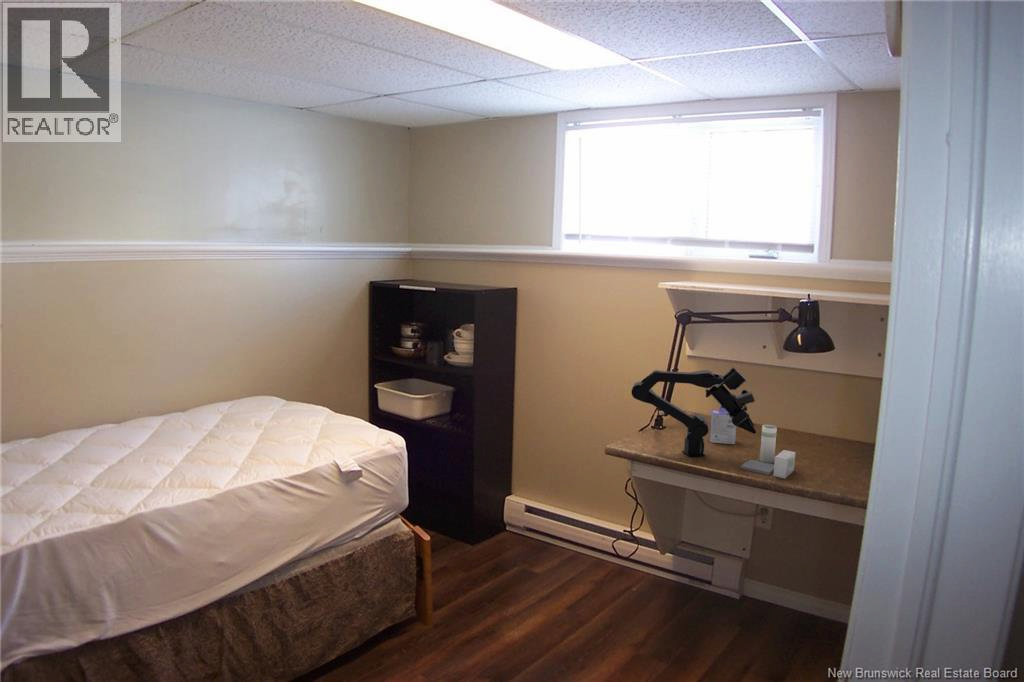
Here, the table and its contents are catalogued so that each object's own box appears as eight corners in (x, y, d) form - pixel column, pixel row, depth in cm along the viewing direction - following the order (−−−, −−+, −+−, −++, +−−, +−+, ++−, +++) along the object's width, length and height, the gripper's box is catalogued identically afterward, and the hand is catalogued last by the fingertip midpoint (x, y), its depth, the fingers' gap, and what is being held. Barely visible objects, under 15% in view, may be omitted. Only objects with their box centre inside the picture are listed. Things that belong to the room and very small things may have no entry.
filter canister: (765, 463, 260) (767, 429, 258) (756, 459, 265) (759, 425, 263) (777, 462, 261) (779, 428, 259) (768, 458, 266) (771, 424, 264)
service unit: (772, 475, 247) (774, 456, 245) (781, 468, 254) (783, 449, 253) (785, 478, 244) (787, 459, 243) (794, 471, 252) (795, 452, 251)
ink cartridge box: (734, 440, 288) (737, 406, 285) (735, 444, 282) (738, 409, 280) (709, 439, 290) (711, 404, 287) (710, 442, 284) (712, 407, 282)
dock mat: (740, 468, 253) (740, 466, 253) (750, 462, 261) (750, 459, 261) (769, 475, 247) (769, 472, 247) (778, 467, 255) (778, 465, 255)
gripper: (743, 389, 252) (774, 422, 251) (740, 379, 270) (769, 409, 269) (719, 409, 255) (749, 441, 254) (717, 398, 273) (746, 428, 272)
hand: (754, 429), depth 262 cm, fingers open, 9 cm apart
